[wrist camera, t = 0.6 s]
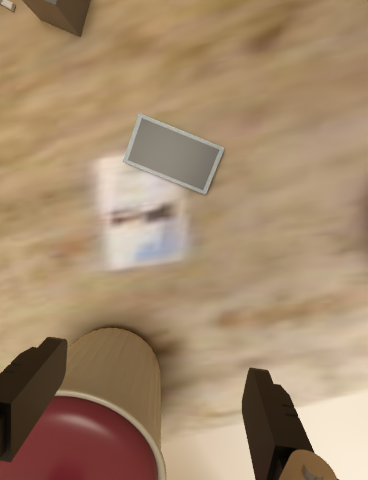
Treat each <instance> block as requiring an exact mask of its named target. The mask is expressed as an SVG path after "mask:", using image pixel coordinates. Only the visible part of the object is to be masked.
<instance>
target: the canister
mask: <svg viewBox="0 0 368 480" xmlns="http://www.w3.org/2000/svg"><path fill="white" fill-rule="evenodd" d="M0 480H166V468H165V462H164V459H163V456H162V452H161V382H160V369H159V364H158V361H157V359H156V355H155V353H154V352H153V351H152V348H151V347H150V346H149V345H148V344H147V342H145V341H144V340H143V339H142V338H141V337H139V336H137V335H136V334H134V333H131V332H130V331H126V330H124V329H118V328H106V329H103V328H101V329H99V330H94V331H92V332H90V333H88V334H85V335H84V336H83V337H81V338H80V339H78V340H77V341H75V342H74V343H73V344H72V345H71V346H70V347H69V348H68V349H67V361H66V373H65V377H64V380H63V382H62V385H61V386H60V388H59V389H58V391H57V392H56V394H55V396H54V397H53V399H52V400H51V402H50V403H49V405H48V406H47V408H46V409H45V411H44V412H43V414H42V416H41V417H40V419H39V420H38V422H37V423H36V425H35V426H34V428H33V429H32V431H31V432H30V434H29V435H28V437H27V439H26V440H25V442H24V443H23V445H22V446H21V448H20V449H19V451H18V452H17V454H16V455H15V457H14V458H13V460H12V462H5V461H0Z"/></svg>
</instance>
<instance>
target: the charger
mask: <svg viewBox="0 0 368 480" xmlns="http://www.w3.org/2000/svg"><path fill="white" fill-rule="evenodd" d="M90 1H91V0H23V2H24V3H25V4H26V5H27V6H28V7H29V8H30V9H31V10H32V11H33V12H34V13H35V14H36V16H37V17H38V18H39V19H40V20H42V21H45V22H47V23H49V24H51V25H54V26H56V27H58V28H61V29H63V30H65V31H68V32H70V33H72V34H74V35H77V36H79V37H80V36H81V32H82V29H83V25H84V22H85V18H86V15H87V11H88V8H89V4H90Z"/></svg>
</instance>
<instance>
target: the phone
mask: <svg viewBox="0 0 368 480" xmlns="http://www.w3.org/2000/svg"><path fill="white" fill-rule="evenodd" d="M223 151H224V148H223V147H221V146H218V145H216V144H213V143H211V142H209V141H206V140H204V139H201V138H199V137H196V136H194V135H192V134H189V133H187V132H184V131H182V130H179V129H177V128H174V127H172V126H170V125H167V124H165V123H162V122H160V121H157V120H155V119H153V118H150V117H148V116H145V115H143V114H140V113H139V115H138V118H137V121H136V124H135V127H134V130H133V133H132V136H131V139H130V142H129V145H128V148H127V151H126V154H125V157H124V160H123V162H125V163H127V164H130V165H132V166H135V167H137V168H140V169H142V170H145V171H147V172H150V173H152V174H155V175H157V176H160V177H162V178H165V179H167V180H170V181H172V182H175V183H177V184H180V185H182V186H185V187H187V188H190V189H192V190H195V191H197V192H200V193H202V194H205V195H206V193H207V190H208V188H209V185H210V183H211V181H212V178H213V176H214V173H215V171H216V168H217V166H218V163H219V161H220V158H221V156H222V153H223Z"/></svg>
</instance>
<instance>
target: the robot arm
mask: <svg viewBox="0 0 368 480" xmlns="http://www.w3.org/2000/svg"><path fill="white" fill-rule="evenodd" d="M66 361H67V340H66V339H61V338H54V337H47V338H46V339H45V340H44V341H43V342H42V344H41V345H40V346H39V347H38V348H36V347H31V348H30V349H28V350H26V351H24V352H22V353H21V354H19V355H18V356H17V357H16V358H15V359H14V360H13V361H12V362H11V364H10V365H8V366H7V367H6V368H5V369H4V371H3V372H1V373H0V461H5V462H12V460H13V458H14V457H15V455H16V454H17V452H18V451H19V449H20V448H21V446H22V445H23V443H24V442H25V440H26V439H27V437H28V435H29V434H30V432H31V431H32V429H33V428H34V426H35V425H36V423H37V422H38V420H39V419H40V417H41V416H42V414H43V412H44V411H45V409H46V408H47V406H48V405H49V403H50V402H51V400H52V399H53V397H54V396H55V394H56V392H57V391H58V389H59V388H60V386H61V385H62V382H63V380H64V377H65V373H66ZM242 415H243V420H244V425H245V430H246V434H247V439H248V444H249V449H250V454H251V459H252V464H253V469H254V474H255V479H256V480H339V479H337V478H336V476H335V473H334V472H333V470H332V469H331V467H330V466H329V465H328V464H327V463H326V462H325V461H324V460H323V459H322V458H321V457H319V456H318V455H316V454H315V453H314V451H313V448H312V446H311V444H310V442H309V439H308V437H307V435H306V432H305V430H304V428H303V425H302V423H301V421H300V419H299V418H298V414H297V412H296V409H295V408H294V405H293V403H292V400H291V398H290V396H289V394H288V393H287V392H286V391H285V390H284V389H283V388H282V386H281V385H277V384H273V381H272V378H271V376H270V373H269V371H268V370H263V369H257V368H250V369H249V371H248V375H247V380H246V384H245V389H244V393H243V398H242Z"/></svg>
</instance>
